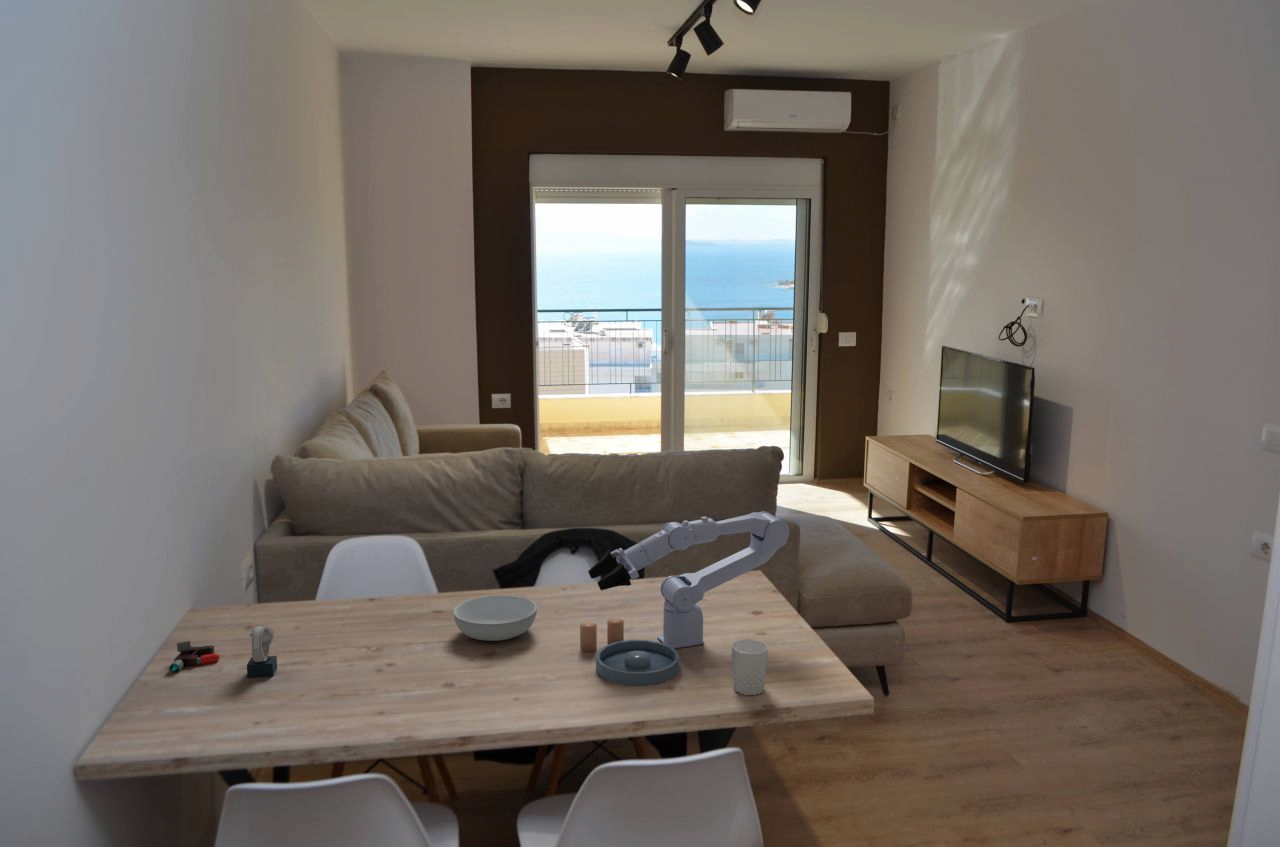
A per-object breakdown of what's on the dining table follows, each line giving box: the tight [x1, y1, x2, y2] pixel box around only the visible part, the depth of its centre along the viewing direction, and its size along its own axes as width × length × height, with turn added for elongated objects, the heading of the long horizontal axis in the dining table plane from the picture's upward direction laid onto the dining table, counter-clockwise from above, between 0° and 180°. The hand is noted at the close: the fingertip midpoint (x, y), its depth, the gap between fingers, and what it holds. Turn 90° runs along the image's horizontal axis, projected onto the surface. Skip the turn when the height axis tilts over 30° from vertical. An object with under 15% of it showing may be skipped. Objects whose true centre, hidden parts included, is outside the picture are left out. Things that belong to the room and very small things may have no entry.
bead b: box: [606, 617, 625, 645], centre depth 234 cm, size 4×4×6 cm
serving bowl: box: [452, 594, 538, 642], centre depth 241 cm, size 21×21×7 cm
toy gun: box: [168, 640, 221, 673], centre depth 222 cm, size 10×12×5 cm
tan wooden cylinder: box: [579, 621, 598, 652], centre depth 232 cm, size 4×4×6 cm
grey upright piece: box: [246, 624, 278, 679], centre depth 217 cm, size 6×8×11 cm
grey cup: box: [731, 639, 769, 696], centre depth 210 cm, size 8×8×10 cm
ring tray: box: [595, 639, 680, 687], centre depth 221 cm, size 19×19×3 cm
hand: (594, 580), depth 227 cm, fingers open, 7 cm apart
